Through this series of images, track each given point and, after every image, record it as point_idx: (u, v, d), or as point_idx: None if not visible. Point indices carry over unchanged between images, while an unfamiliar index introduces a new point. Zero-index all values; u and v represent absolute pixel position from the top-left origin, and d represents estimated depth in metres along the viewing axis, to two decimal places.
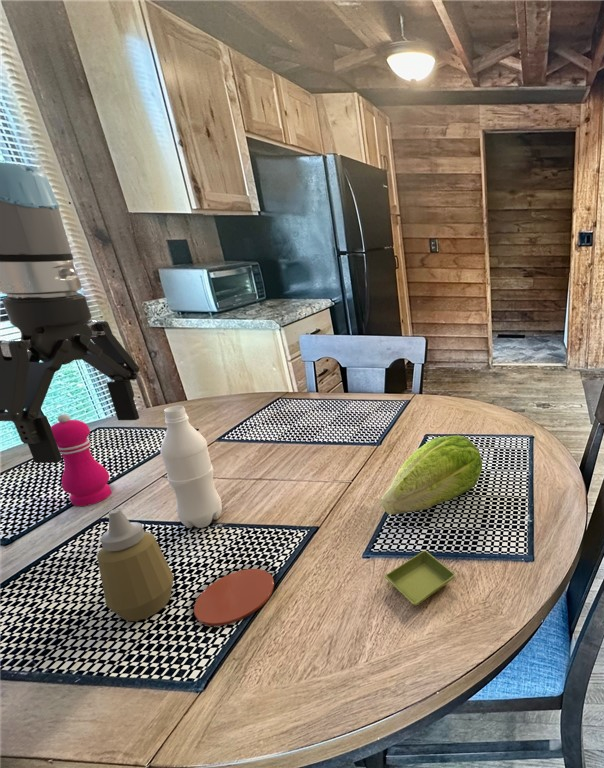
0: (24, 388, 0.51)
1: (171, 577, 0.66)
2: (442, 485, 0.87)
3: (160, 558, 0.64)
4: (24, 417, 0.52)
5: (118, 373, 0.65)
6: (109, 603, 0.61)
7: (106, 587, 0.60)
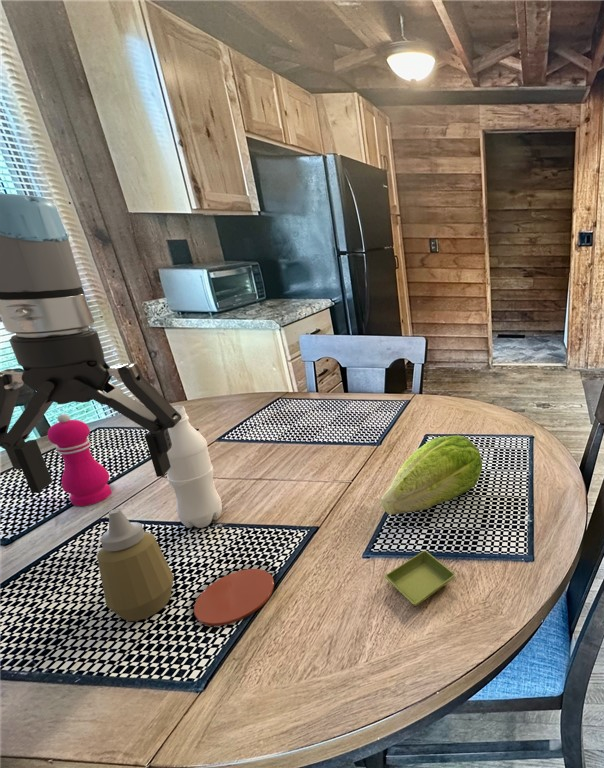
0: None
1: (171, 577, 0.66)
2: (442, 485, 0.87)
3: (160, 558, 0.64)
4: (2, 444, 0.53)
5: (139, 424, 0.57)
6: (109, 603, 0.61)
7: (106, 587, 0.60)
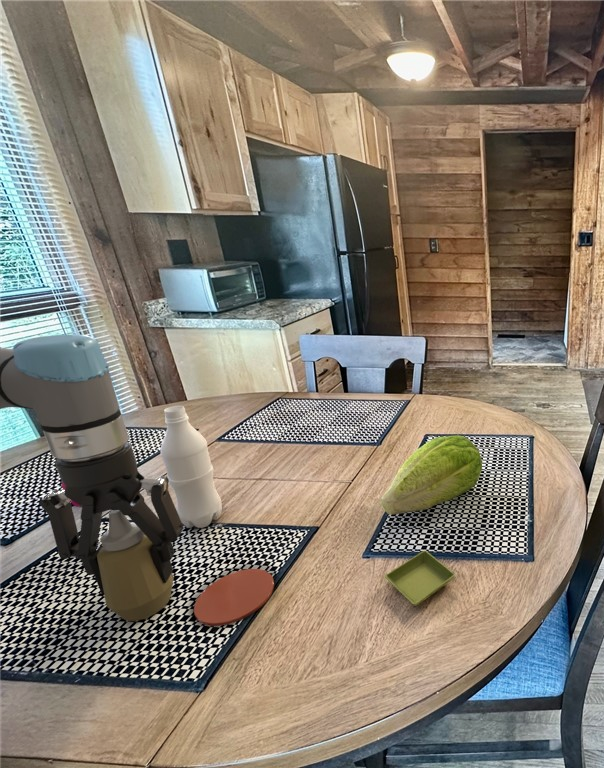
0: (64, 534, 0.58)
1: (171, 577, 0.66)
2: (442, 485, 0.87)
3: None
4: None
5: None
6: (109, 603, 0.61)
7: (106, 587, 0.60)
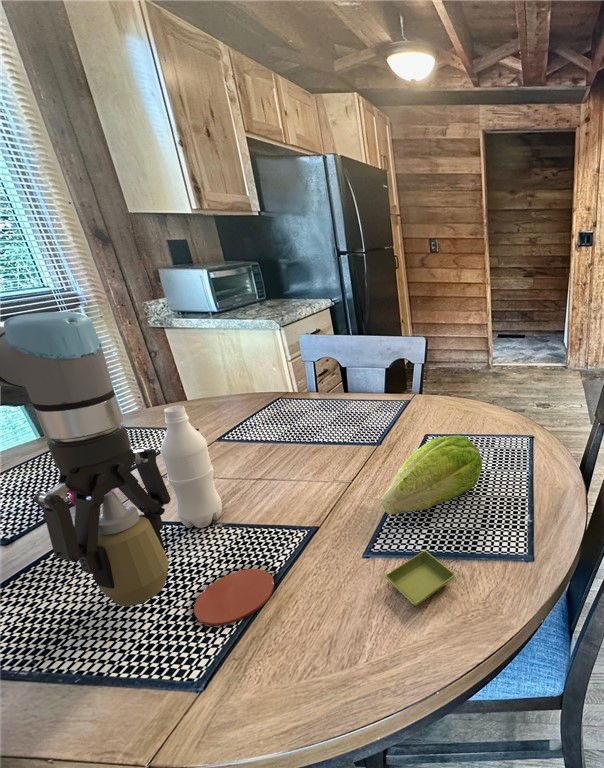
0: None
1: (109, 591, 0.60)
2: (442, 485, 0.87)
3: None
4: None
5: None
6: None
7: None
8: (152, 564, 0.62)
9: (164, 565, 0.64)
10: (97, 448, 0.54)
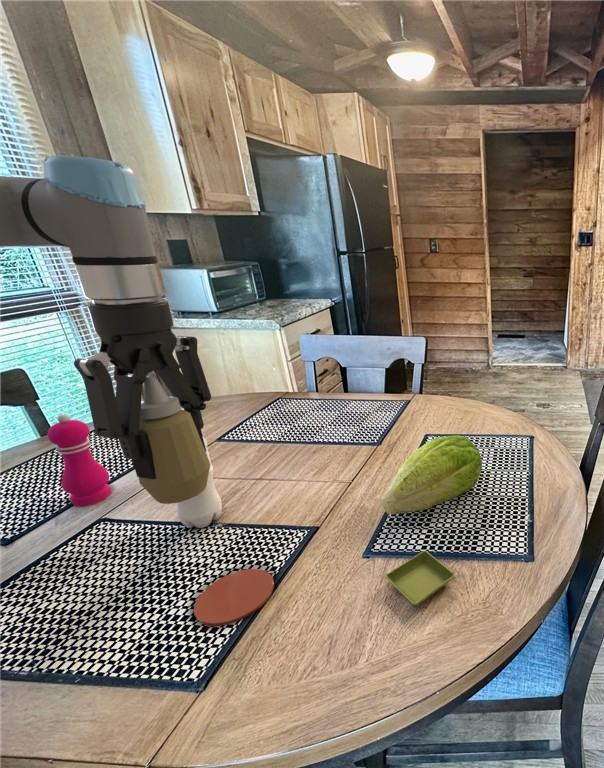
0: (184, 375, 0.60)
1: (151, 483, 0.55)
2: (442, 485, 0.87)
3: None
4: None
5: None
6: None
7: None
8: (195, 458, 0.58)
9: (206, 464, 0.60)
10: (141, 315, 0.50)
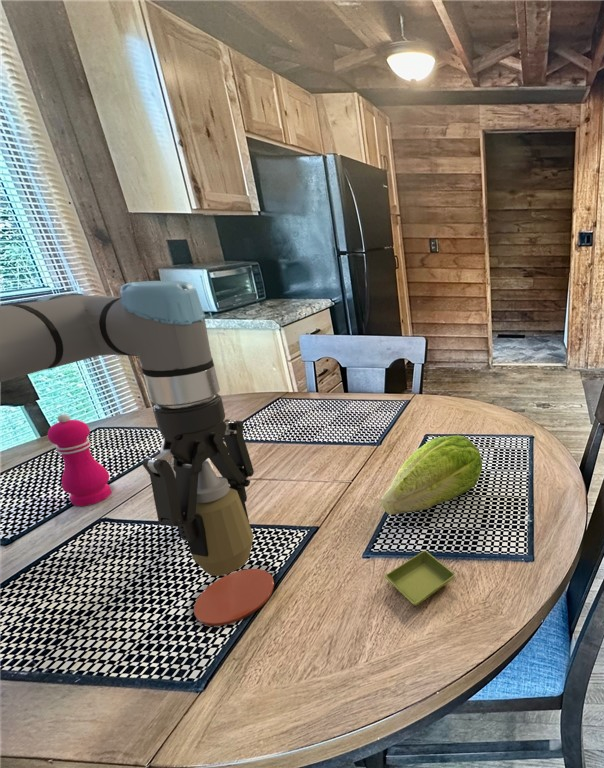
0: (230, 454, 0.66)
1: (203, 559, 0.61)
2: (442, 485, 0.87)
3: None
4: None
5: None
6: None
7: None
8: (242, 533, 0.63)
9: (251, 536, 0.65)
10: (200, 416, 0.55)
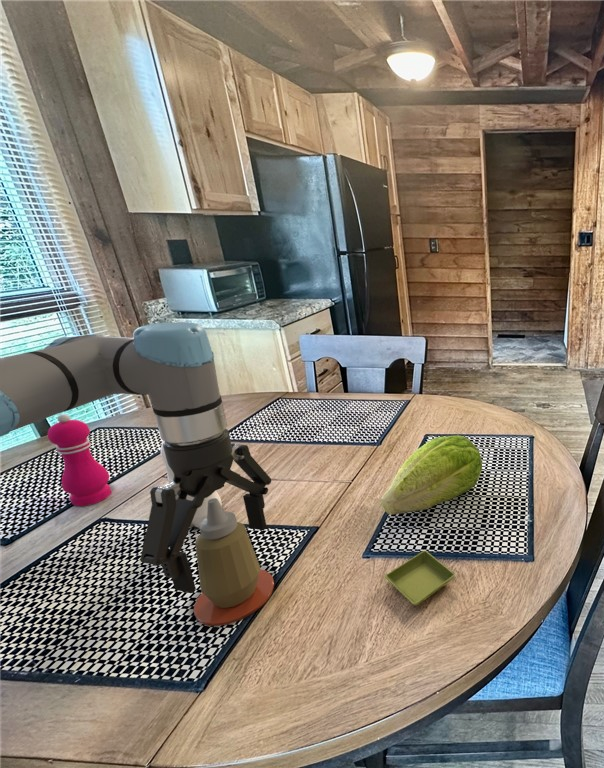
0: (244, 470, 0.69)
1: (212, 593, 0.63)
2: (442, 485, 0.87)
3: (206, 568, 0.62)
4: None
5: None
6: None
7: None
8: (249, 567, 0.65)
9: (257, 568, 0.67)
10: (209, 452, 0.57)
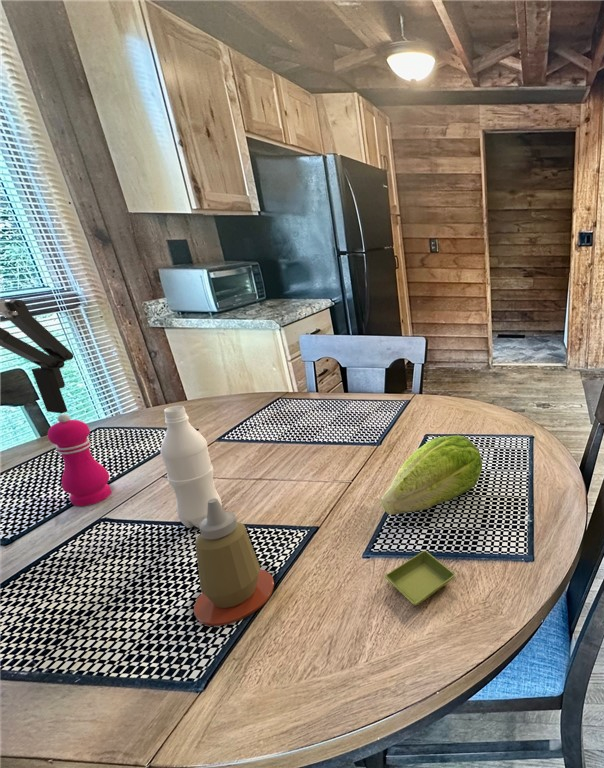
0: (31, 338, 0.58)
1: (212, 593, 0.63)
2: (442, 485, 0.87)
3: (206, 568, 0.62)
4: None
5: None
6: None
7: None
8: (249, 567, 0.65)
9: (257, 568, 0.67)
10: None
